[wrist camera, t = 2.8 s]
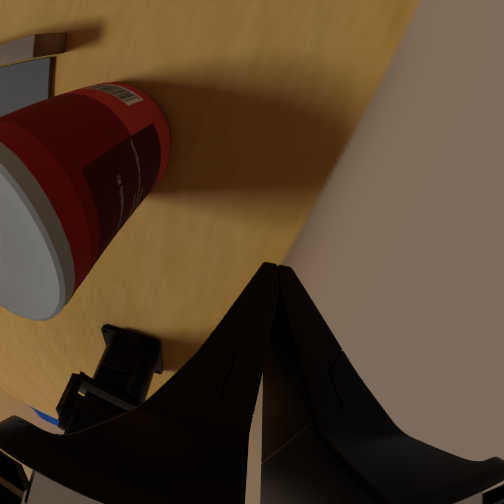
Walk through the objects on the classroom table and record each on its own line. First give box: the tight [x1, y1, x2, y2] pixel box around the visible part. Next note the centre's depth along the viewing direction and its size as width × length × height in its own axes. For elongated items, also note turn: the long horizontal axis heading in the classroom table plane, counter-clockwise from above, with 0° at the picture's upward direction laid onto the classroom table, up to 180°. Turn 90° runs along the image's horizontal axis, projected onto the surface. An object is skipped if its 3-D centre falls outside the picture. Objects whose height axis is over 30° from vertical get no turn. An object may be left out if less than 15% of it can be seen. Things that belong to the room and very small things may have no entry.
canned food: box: [0, 82, 171, 321], centre depth 11 cm, size 8×8×11 cm
